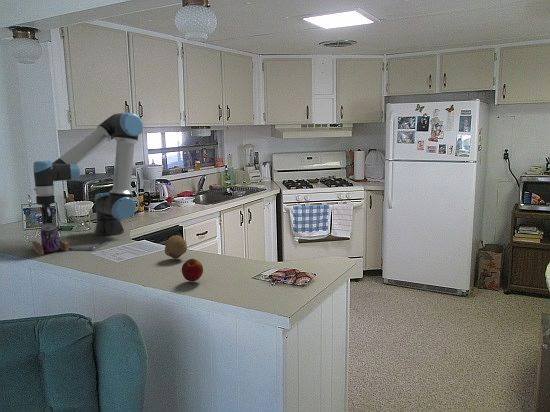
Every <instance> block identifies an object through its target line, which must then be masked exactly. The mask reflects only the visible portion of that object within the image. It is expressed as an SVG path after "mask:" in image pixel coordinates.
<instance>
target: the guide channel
mask: <svg viewBox="0 0 550 412" xmlns="http://www.w3.org/2000/svg"><path fill="white" fill-rule="evenodd" d="M31 244H32V250H33V251H35V252H36V254H38V255H39V257H40V256H44V253H45V251H44V250H43V247H42V244H40V243H38V242H37V241H36V240H35V241H34V240H33V241H31ZM59 244H60V248H59V249H61V250H63V252H65V253H66V252H69V251H70V250H69V243H68V242H66V241H65V240H63V239H62V238H61V237H59Z"/></svg>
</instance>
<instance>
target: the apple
mask: <svg viewBox="0 0 550 412" xmlns="http://www.w3.org/2000/svg"><path fill="white" fill-rule="evenodd" d="M203 273H204V267H203V264H202V262H201V261H199V259H196V258H189V259H188V260H186V261H185V262H184V263H183V264H182V266H181V274H182V276H183V278H184V279H185V280H186V281H189V282H196V281H198V280H200V278H201V277H202V275H203Z"/></svg>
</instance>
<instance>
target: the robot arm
mask: <svg viewBox="0 0 550 412" xmlns="http://www.w3.org/2000/svg"><path fill="white" fill-rule="evenodd" d="M143 129H144V124H143V120H142V118H141V117H140V116H139V115H138V114H136V113H134V112H120V113H114V114H112V115H110V116H109V117H107V118H106V119H104V121H102V122H101V123H99V124H98V125H97V126H96V129H95V130H94V131H92V132H91V133H90V134H88V135H87V136H86V137H85V138H83V139H82V140H81V141H80V142H78V143H77V144H76V145H75V146H73V147H72V148H70V149H69V150H68V151H66V152H65V153H64V154H63V155H61V156H59V158H58V159H55V160H54V161H53V162H52V161H51V160H36V161H33V178H34V186H35V188H33V191H35V195H36V197H35V199H36V201H35V202H36V204H37V205H40V206H41V207H40V213H41V220H42V225H44V224H46V223H54V222H53V208H52V207H51V204H55V203H56V202H55V201H56V197H55V195H54V194H55V186H54V182H62V181H73V180H78V179H79V178H80V177H81V170H80V169H81V168H80V166H79V165H78V164H79V163H81V162H82V161H83V160H85V159H86V158H87V157H89V156H90V155H91V154H92V153H94V152H95V151H96V150H97V149H99V148H100V147H101V146H103V145H104V144H105V143H106V142H111V141H112V140H113V139H114V140H115V141H116V146H115V147H116V148H115V160H114V171H113V182H112V189H111V190H109V192H103V193H97V194H95V196H94V197H95V198H94V199H95V200H94V203H95V212H96V224H95V228H94V231H93V232H94V233H93V234H94V236H95V237H115V236H119V235H122V234H124V233H125V229H124V227H123V224H122V221H123V220H129V219H130V218H132V216H133V215H134V214H135V212H136V210H137V205H136V202H135V200H134V199H133V198H134V193H133V192H132V191H131V189H132V188H131V185H132V177H133V175H132V174H133V165H134V153H135V144H136V143H137V142H138V141H139V136H140V134H142V132H143V131H144V130H143Z"/></svg>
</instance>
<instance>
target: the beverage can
mask: <svg viewBox="0 0 550 412" xmlns="http://www.w3.org/2000/svg"><path fill="white" fill-rule="evenodd" d="M59 233H60V232H59V229H58V226H57V224H56V223H54V222H53V223H46V224H44V225H43V224H42V225H41V228H40V238H41V240H40V241H41V246H42V247H43V252H46V253H53V252H56V251H58V250H59V249H61V248H60V244H59V238H60V237H59V236H60V235H59Z"/></svg>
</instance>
